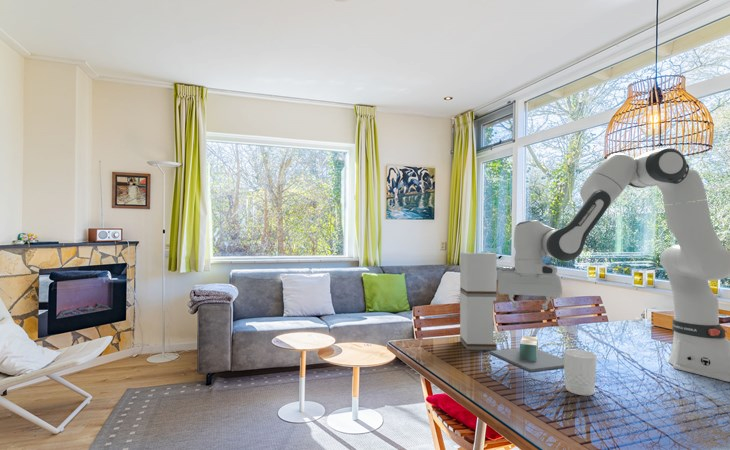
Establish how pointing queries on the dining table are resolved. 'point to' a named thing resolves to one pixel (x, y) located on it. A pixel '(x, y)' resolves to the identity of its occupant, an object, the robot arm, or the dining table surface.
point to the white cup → (580, 371)
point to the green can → (529, 348)
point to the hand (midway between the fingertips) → (529, 308)
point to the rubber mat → (542, 363)
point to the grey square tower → (477, 300)
